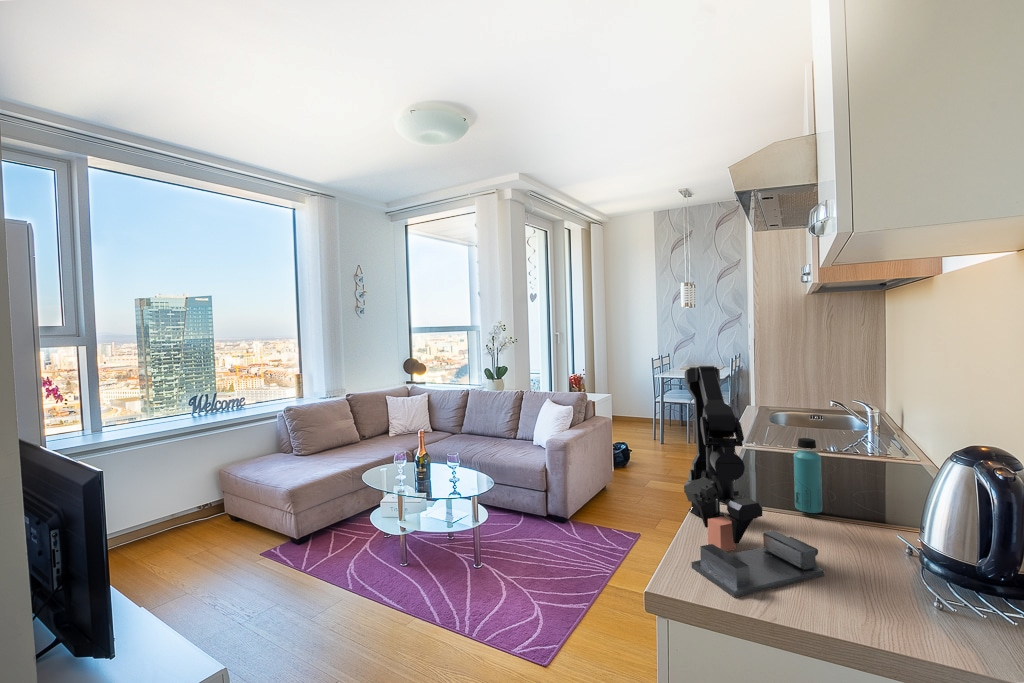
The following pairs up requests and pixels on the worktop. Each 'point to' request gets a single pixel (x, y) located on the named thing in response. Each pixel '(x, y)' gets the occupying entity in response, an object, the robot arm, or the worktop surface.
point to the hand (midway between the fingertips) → (721, 535)
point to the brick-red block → (720, 533)
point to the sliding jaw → (790, 549)
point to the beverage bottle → (807, 478)
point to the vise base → (749, 570)
